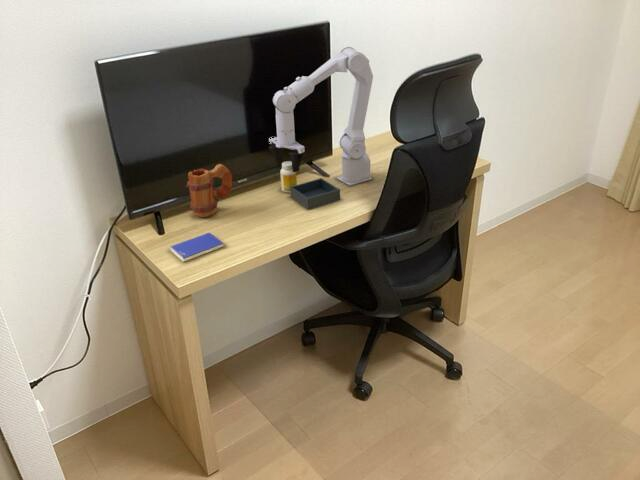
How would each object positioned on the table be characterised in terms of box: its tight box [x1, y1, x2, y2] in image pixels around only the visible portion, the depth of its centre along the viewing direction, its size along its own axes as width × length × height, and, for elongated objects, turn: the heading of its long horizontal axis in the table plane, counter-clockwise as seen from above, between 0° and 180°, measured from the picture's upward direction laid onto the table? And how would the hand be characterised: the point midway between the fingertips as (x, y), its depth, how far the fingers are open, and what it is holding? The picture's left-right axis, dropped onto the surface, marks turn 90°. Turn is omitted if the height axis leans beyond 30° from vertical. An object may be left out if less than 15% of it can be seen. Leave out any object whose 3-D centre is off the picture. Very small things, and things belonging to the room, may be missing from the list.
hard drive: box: [169, 232, 224, 262], centre depth 163 cm, size 2×8×12 cm
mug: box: [185, 163, 233, 218], centre depth 180 cm, size 15×8×15 cm, turn 117°
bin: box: [290, 177, 341, 210], centre depth 188 cm, size 12×11×4 cm
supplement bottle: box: [279, 160, 298, 194], centre depth 194 cm, size 5×5×10 cm
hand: (287, 168), depth 192 cm, fingers open, 7 cm apart
